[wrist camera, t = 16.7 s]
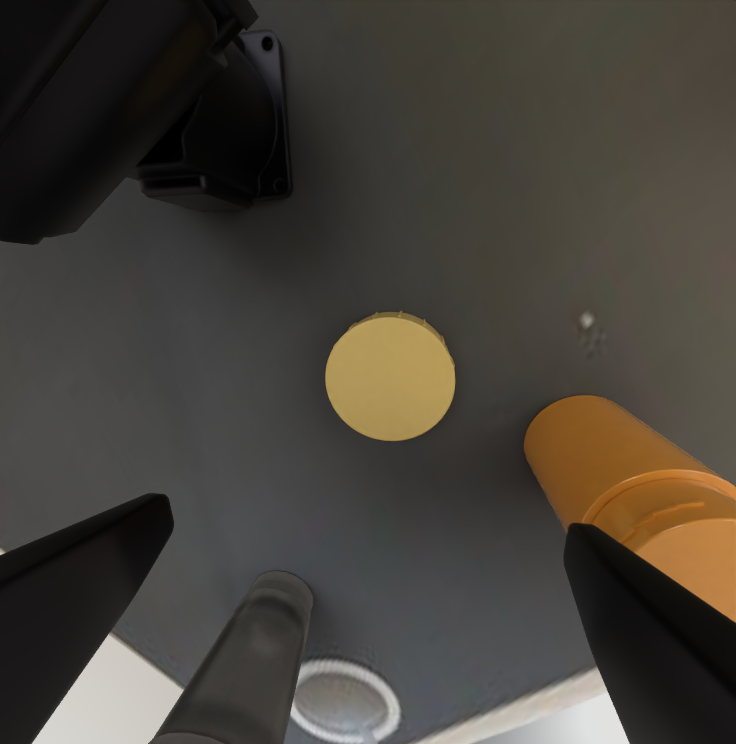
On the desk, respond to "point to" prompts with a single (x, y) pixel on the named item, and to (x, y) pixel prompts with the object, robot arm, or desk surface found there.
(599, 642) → the robot arm
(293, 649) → the beverage cup
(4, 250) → the desk surface
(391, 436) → the honey lid
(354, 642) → the desk surface
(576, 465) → the honey jar
